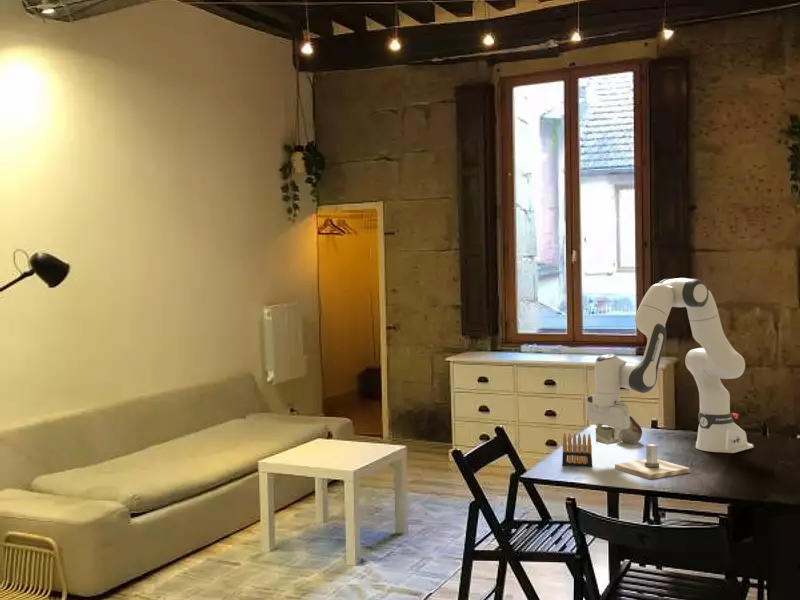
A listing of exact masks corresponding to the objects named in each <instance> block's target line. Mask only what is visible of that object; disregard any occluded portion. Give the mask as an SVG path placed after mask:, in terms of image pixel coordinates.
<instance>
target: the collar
mask: <svg viewBox="0 0 800 600" xmlns="http://www.w3.org/2000/svg"><path fill="white" fill-rule="evenodd" d="M614 432H615V430H614V427H611V426H607V425H604V426H602V427H598V428H597V427H595V442H597V443H601V444H605V445H606V446H608V445H614V444H619V443H620V444H621V443H622V441H621V431H620V433H619V439H613V436H612V434H614Z"/></svg>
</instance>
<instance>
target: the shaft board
mask: <svg viewBox="0 0 800 600" xmlns="http://www.w3.org/2000/svg"><path fill="white" fill-rule="evenodd" d="M645 446H646V447H645V449H646V450H645V451H646V455H645V456H646V458H644V459H639V460H633V461H632V460H631V461H628V462H619V463H615V464H614V469H616V470H619V471H622V472H625V473H629V474H632V475H636V476H639V477H642V478H643V479H644V478H645V479H647V480H654V479H655V480H656V479H660V478H666V477H671V476H676V475H682V474H687V473H688V474H689V473H691V472H690V471H691V469H690V467H687V466H683V465H680V464H676V463H672V462H670V461H666V460H661V459H658V445H657V444H653V443H651V444H650V443H649V444H646V445H645Z"/></svg>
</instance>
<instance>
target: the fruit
mask: <svg viewBox="0 0 800 600" xmlns="http://www.w3.org/2000/svg"><path fill="white" fill-rule="evenodd" d="M629 417H630V427H629V428H627V429H621V443H624V444H635V445H636V444H637V443H639V442H641V441H640V440H641V439H642V436H643V429H642V427H641V426H640V424H639V423H638V422H637V421H636V420H635V419H634V418H633V416H631V415H629Z"/></svg>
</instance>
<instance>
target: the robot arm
mask: <svg viewBox="0 0 800 600" xmlns="http://www.w3.org/2000/svg"><path fill="white" fill-rule="evenodd" d="M673 307H674V308H686V310H687V311H686V312H687V317H688V320H689V325H690V329H691V334H692V338H693V339H694V341H695V342H697V343H698V344H699V345H700V346H701V347H698V348H693V349H690V350H689V351H688V352H687V353H686V355H685V359H684V360H685V361H684V362H685V363H684V364H685V366H686V369H687V370H688V371H689V372H690V373H691V375H692V376H693V378H694V381H695V383H696V386H697V390H698V396H699V397H698V398H699V412H698V422H699V424H698V429H697V437H696V442H695V448H696V449H697V450H700V451H704V452H710V453H711V452H712V453H726V454H727V453H728V454H734V453H735V454H736V453H739V452H742V451H746V450H749V449H753V448H754V444H753V443H750V442H748V439H747V437H748V436H747V432H746V431H745V430H744V429H743V428H741V427H740V426H739V425H737V424H736V423H735V422H734V419H736V420H737V419H738V413H734V412H732V413H731V409H730V408H731V401H730V400H731V399H730V398H731V395H730V392H729V391H728V389H727V388H726V387H725V386H724V384H723V382H722V380H723V379H724V380H730V379H731V380H732V379H737V378H739V377H741V376H742V375H743V374H744V372H745V369H746V362H745V359H744V357H743V356H742V355H741V354H740V353H739V352H738V351H736V349H735V348H734V347H733V346H732V344H731V343H730V342H729V340H728V338H727V337H726V334H725V332H724V329H723V327H722V326H723V325H722V322H721V319H720V315H719V314H720V313H719V309H718V306H717V303H716V301H715V298H714V296H713V294H712V292H711V291H710V290H709V289H708V287H707V284H706V282H704V281H703V280H701V279H698V278H687V277H678V278H664V279H662V280H659V281H658V283H655V284H652V285H651V286H650V287H649V288H648V290H647V292H646V293H645V294H644V296H643V298H642V299H641V302H640V304H639V306H638V309H637V311H636V312H635V317H634V322H635V326H636V327H637V330H638V331H640V333H642V334H643V335H645V337H646V338H647V339H646V341H647V343H646V346H645V350H644V353H643V357H642V359H641V361H640V362H639V363H636V362H631V361H626V360H623V359H621V358H620V357H618V356H617V354H613V353H609V354H602V355H600V356H598V357H597V358H596V359H595V362H594V382H595V389H594V394H592V395H588V396H587V395H586V398H585V400H586V401H585V402H586V406H585V407H586V410H585V411H586V418H587V421H588V422H590V423H591V422H592V423H595V426H596V427H595V428H598V427H603V426H611V427H614V430H615V432H614V434H612V436H613V439H619V433H620V431H621V429H627V428H629V427H630V417H629V416H630V412H629V408H628V405H626V404H625V402H621V390H620V389H621V388H624V389H628V390H633V391H635V392H638V393H643V394H646V393H649V392H650V391H651V390H652V389H653V388H654V387H655V385H656V384H657V380H658V370H659V365H660V362H661V358H662V355H663V352H664V349H665V344H666V340H667V329H666V324H667V321H668V318H669V315H670V312H671V310H672V308H673ZM721 379H722V380H721Z"/></svg>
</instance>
